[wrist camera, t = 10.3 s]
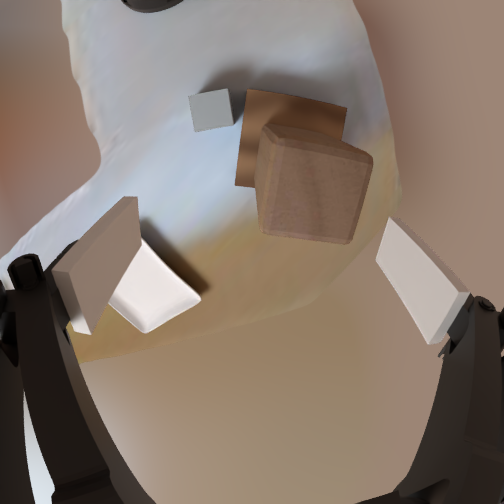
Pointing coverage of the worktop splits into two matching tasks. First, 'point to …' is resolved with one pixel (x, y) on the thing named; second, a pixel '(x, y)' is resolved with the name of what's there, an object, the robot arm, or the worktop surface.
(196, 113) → the slate cube
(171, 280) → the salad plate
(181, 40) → the worktop surface
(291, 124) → the plinth
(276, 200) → the block
